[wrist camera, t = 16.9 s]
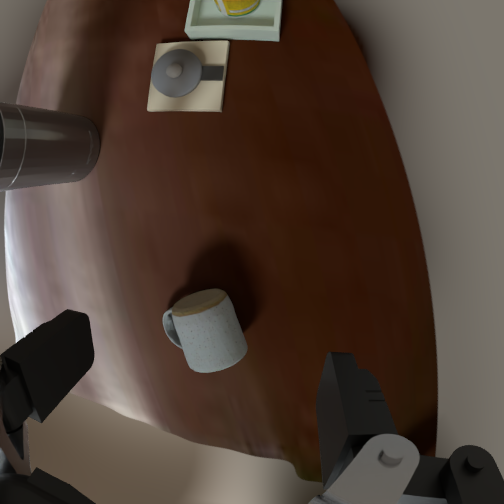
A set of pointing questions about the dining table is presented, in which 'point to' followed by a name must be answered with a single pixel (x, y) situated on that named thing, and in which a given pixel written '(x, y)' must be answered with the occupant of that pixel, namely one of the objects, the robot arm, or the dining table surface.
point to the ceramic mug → (206, 330)
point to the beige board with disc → (188, 76)
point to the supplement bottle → (237, 7)
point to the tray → (233, 22)
